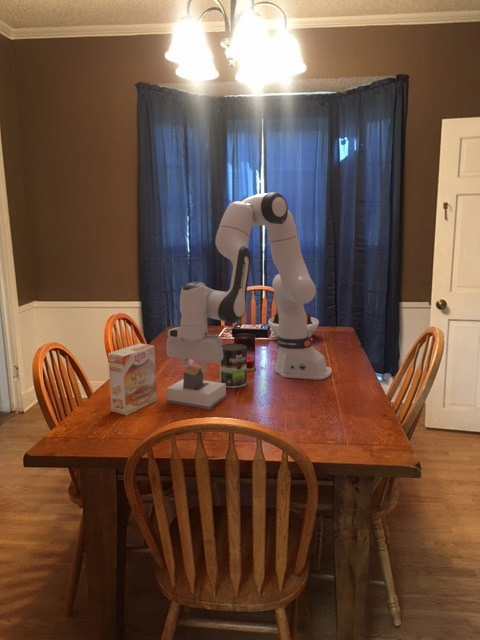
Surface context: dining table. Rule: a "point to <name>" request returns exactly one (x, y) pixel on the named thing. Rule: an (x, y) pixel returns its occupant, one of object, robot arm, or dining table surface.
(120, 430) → the dining table surface
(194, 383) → the plug
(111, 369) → the coffeecake box
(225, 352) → the coffee can
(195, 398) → the socket
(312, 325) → the white round bowl
